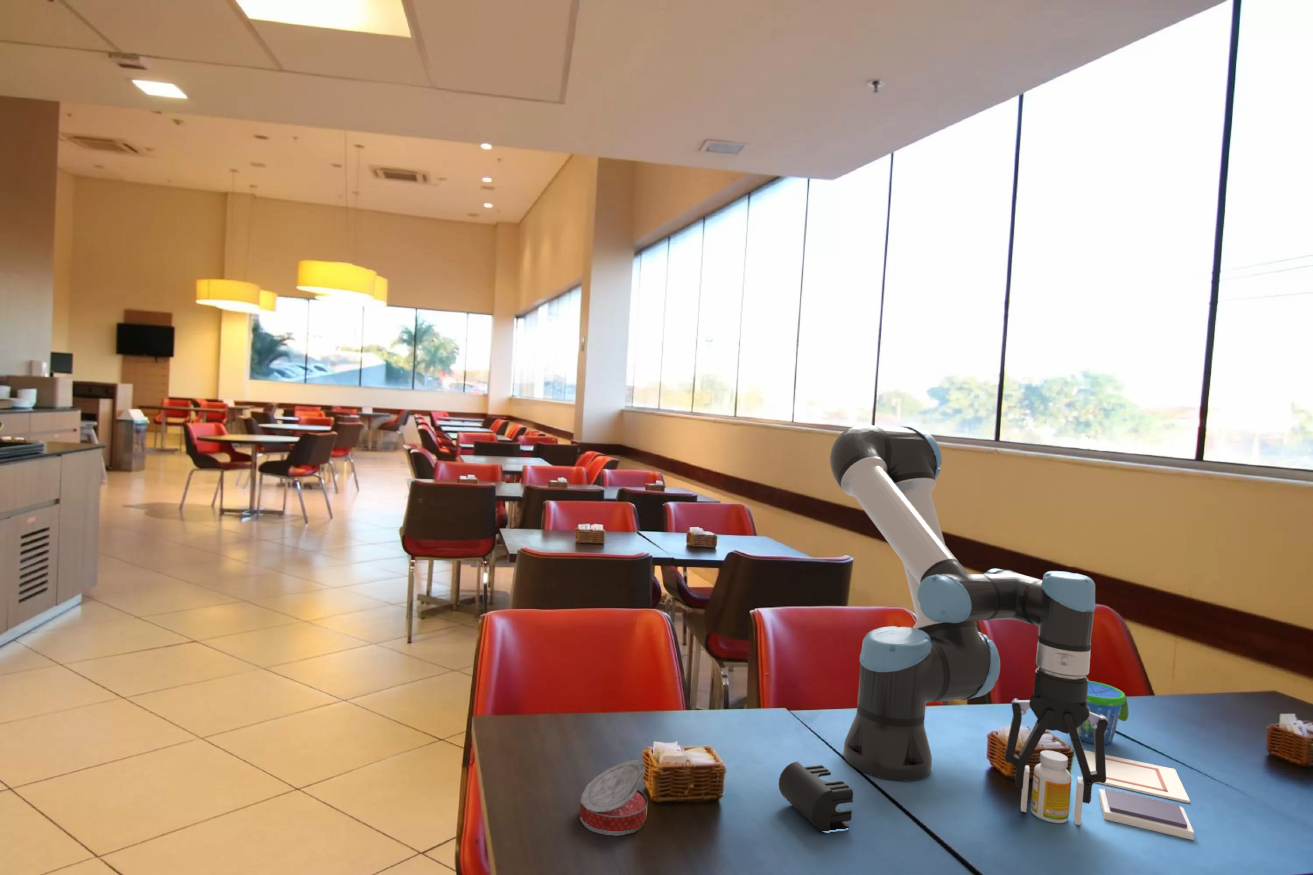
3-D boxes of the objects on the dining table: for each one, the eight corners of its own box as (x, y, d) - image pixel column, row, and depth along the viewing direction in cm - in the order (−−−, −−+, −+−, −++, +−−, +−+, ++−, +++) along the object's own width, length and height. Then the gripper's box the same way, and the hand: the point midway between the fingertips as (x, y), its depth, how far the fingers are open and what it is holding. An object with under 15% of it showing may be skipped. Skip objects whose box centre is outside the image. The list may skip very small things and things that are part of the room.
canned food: (631, 867, 114) (629, 823, 109) (568, 841, 117) (563, 798, 112) (661, 801, 123) (661, 757, 118) (602, 779, 126) (599, 736, 121)
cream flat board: (1082, 779, 142) (1083, 776, 142) (1077, 750, 154) (1077, 748, 154) (1189, 803, 135) (1190, 800, 135) (1174, 771, 148) (1175, 768, 148)
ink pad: (1104, 818, 127) (1105, 807, 127) (1098, 795, 136) (1099, 784, 136) (1193, 839, 123) (1194, 828, 123) (1182, 814, 131) (1183, 803, 131)
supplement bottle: (1075, 819, 127) (1080, 758, 126) (1055, 827, 124) (1061, 765, 123) (1042, 804, 131) (1047, 745, 131) (1023, 811, 128) (1028, 751, 128)
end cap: (776, 805, 125) (779, 762, 125) (815, 799, 128) (818, 758, 127) (810, 838, 116) (814, 792, 116) (852, 832, 118) (855, 787, 118)
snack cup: (1073, 749, 155) (1077, 697, 154) (1038, 727, 165) (1043, 678, 165) (1145, 749, 157) (1149, 698, 157) (1106, 727, 168) (1111, 679, 167)
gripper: (993, 665, 127) (981, 808, 128) (1138, 691, 119) (1124, 842, 120) (994, 654, 134) (983, 789, 135) (1131, 677, 126) (1118, 820, 127)
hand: (1050, 814), depth 127 cm, fingers open, 7 cm apart
